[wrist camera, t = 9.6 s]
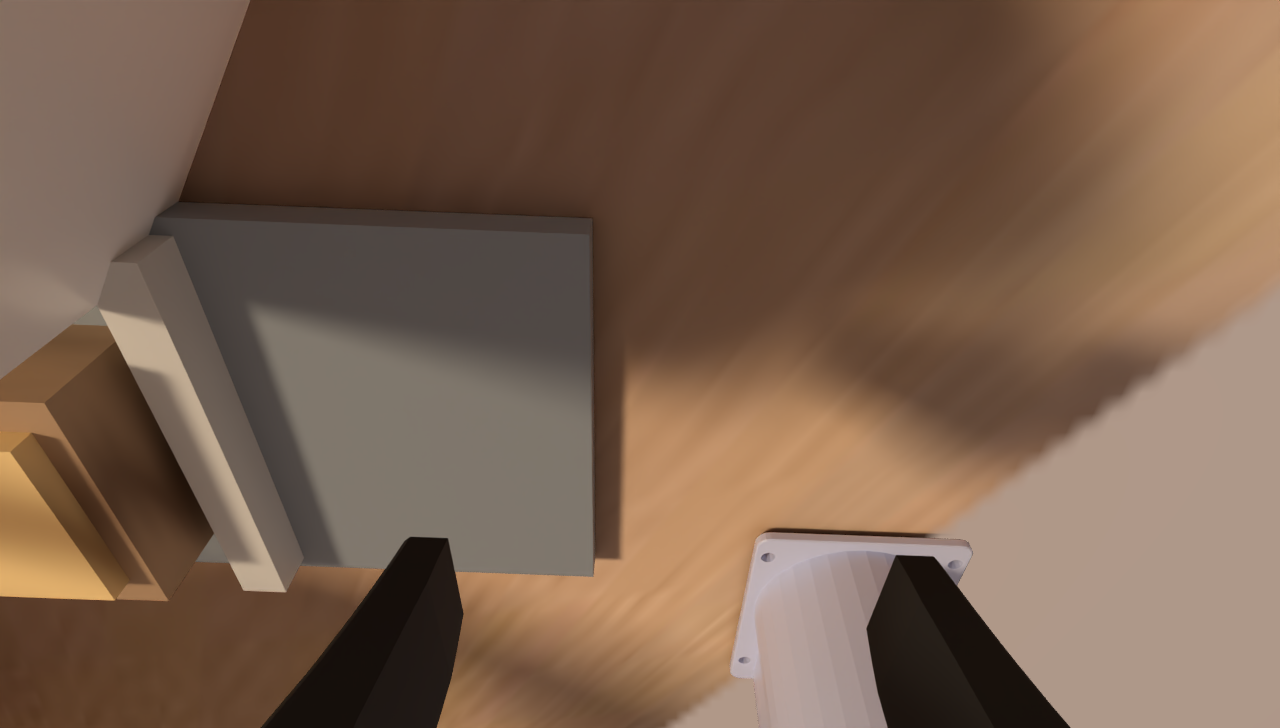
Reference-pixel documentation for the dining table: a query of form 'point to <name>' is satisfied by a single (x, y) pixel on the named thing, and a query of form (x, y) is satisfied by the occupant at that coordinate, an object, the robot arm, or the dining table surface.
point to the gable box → (94, 142)
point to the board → (368, 382)
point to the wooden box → (89, 480)
